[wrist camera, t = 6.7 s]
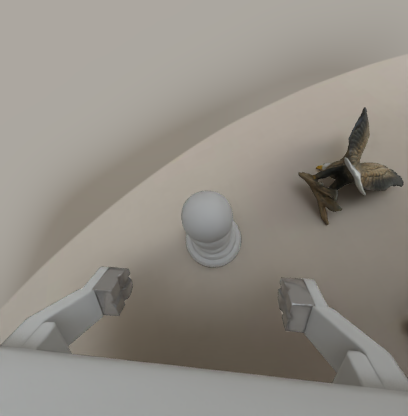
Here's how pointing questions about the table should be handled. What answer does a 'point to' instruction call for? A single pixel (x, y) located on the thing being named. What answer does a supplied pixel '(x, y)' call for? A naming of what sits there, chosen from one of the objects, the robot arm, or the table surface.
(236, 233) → the chess piece
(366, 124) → the eagle figurine
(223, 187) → the table surface
